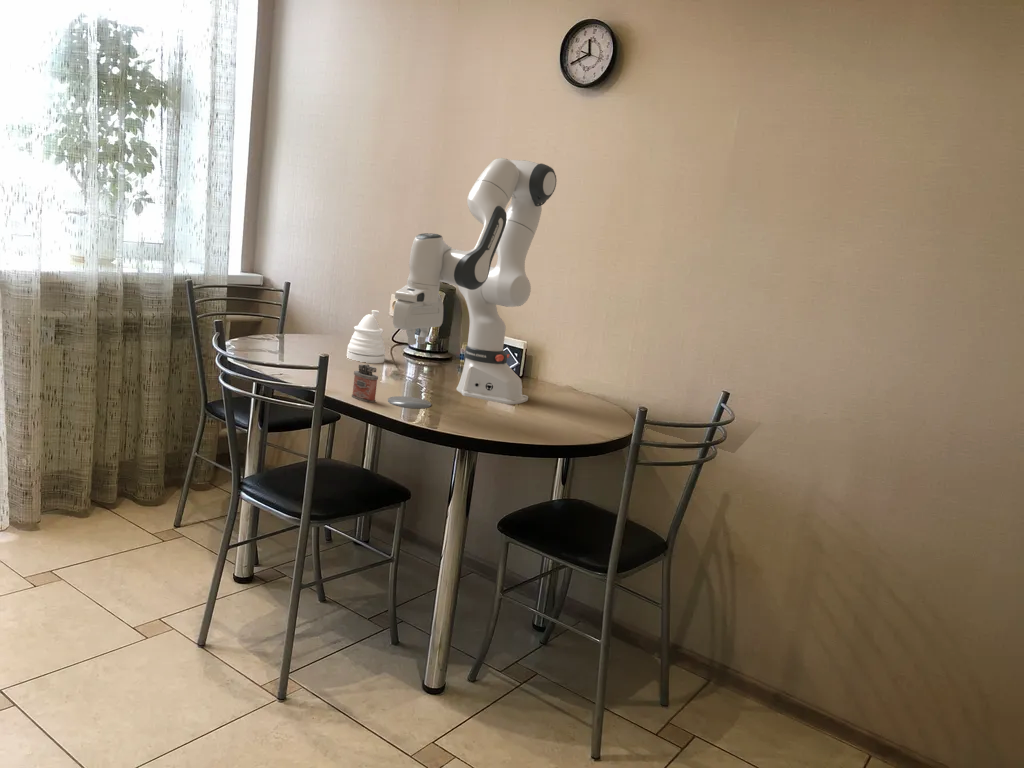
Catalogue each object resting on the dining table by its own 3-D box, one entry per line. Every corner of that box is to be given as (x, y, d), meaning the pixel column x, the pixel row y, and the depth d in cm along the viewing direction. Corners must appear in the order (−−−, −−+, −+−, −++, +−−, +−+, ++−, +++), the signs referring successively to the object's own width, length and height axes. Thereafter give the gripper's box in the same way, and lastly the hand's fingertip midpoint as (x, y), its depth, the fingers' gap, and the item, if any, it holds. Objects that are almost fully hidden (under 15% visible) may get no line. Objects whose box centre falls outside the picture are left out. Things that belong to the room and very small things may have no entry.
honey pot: (372, 358, 283) (377, 308, 280) (390, 366, 274) (396, 314, 270) (339, 358, 275) (344, 306, 271) (357, 366, 265) (363, 312, 262)
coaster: (438, 406, 224) (439, 403, 224) (415, 412, 214) (416, 409, 213) (403, 397, 229) (403, 394, 229) (379, 402, 218) (379, 399, 218)
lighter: (348, 397, 219) (352, 362, 217) (357, 396, 222) (361, 361, 220) (369, 404, 215) (373, 368, 213) (378, 403, 218) (382, 367, 216)
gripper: (432, 291, 226) (426, 339, 229) (391, 292, 208) (385, 344, 210) (451, 295, 224) (445, 343, 226) (411, 296, 205) (405, 348, 208)
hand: (416, 343), depth 218 cm, fingers open, 3 cm apart
